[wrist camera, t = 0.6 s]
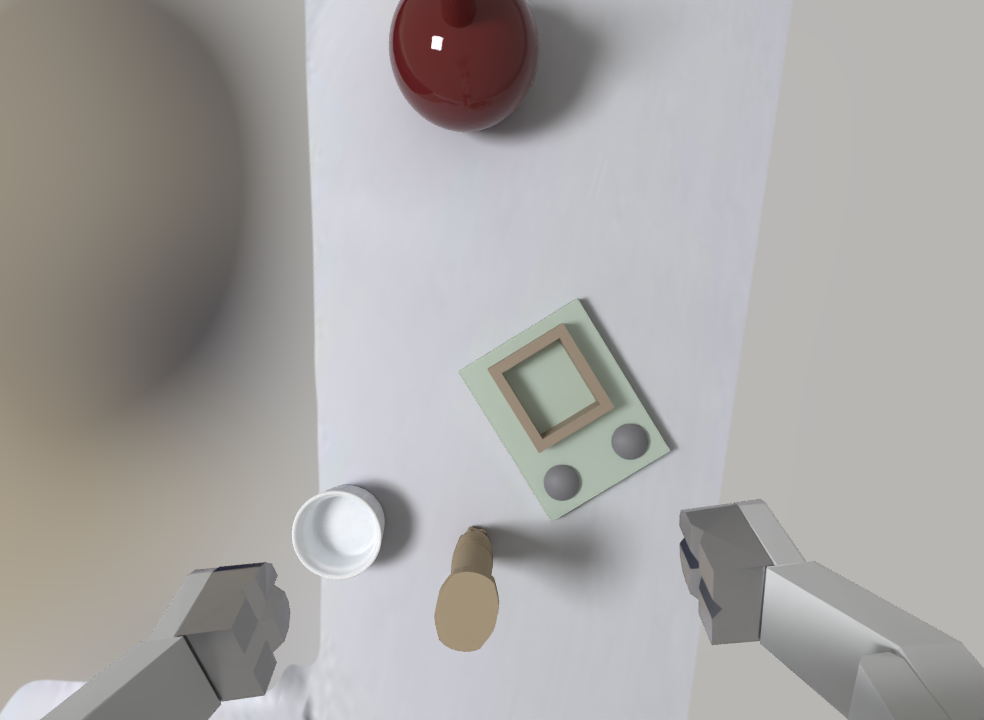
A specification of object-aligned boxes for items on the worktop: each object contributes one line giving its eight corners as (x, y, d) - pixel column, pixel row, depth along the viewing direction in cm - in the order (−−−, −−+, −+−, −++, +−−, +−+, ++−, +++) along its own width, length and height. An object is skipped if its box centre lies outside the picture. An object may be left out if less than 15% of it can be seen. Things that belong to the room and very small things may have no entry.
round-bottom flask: (554, 48, 56) (584, -106, 36) (502, 171, 57) (503, 86, 37) (433, -4, 56) (397, -189, 36) (383, 119, 57) (319, 6, 37)
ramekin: (296, 548, 60) (280, 565, 55) (319, 468, 59) (305, 479, 55) (377, 572, 60) (367, 591, 55) (400, 493, 59) (392, 506, 55)
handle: (504, 515, 59) (505, 579, 44) (491, 574, 59) (488, 657, 44) (458, 506, 59) (444, 566, 44) (446, 564, 59) (428, 644, 44)
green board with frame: (665, 447, 58) (678, 456, 54) (550, 517, 59) (553, 530, 55) (575, 299, 58) (581, 296, 54) (459, 370, 58) (456, 373, 54)
